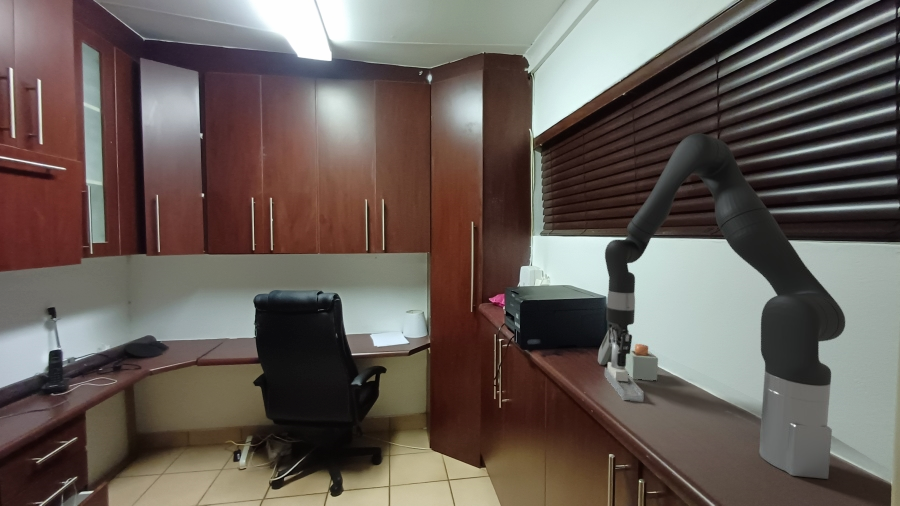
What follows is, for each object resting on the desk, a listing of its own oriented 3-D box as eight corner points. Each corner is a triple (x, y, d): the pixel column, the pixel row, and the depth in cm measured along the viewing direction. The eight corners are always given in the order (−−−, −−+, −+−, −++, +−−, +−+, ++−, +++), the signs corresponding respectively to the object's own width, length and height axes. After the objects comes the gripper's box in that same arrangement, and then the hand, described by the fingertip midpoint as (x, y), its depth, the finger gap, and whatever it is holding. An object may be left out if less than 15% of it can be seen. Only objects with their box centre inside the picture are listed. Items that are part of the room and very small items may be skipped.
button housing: (656, 380, 111) (658, 358, 111) (632, 379, 112) (633, 356, 112) (647, 372, 118) (648, 350, 118) (624, 370, 119) (625, 349, 118)
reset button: (649, 357, 113) (650, 348, 112) (637, 356, 113) (637, 347, 113) (645, 353, 116) (645, 344, 116) (633, 353, 117) (633, 343, 116)
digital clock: (600, 351, 138) (601, 324, 138) (626, 356, 133) (627, 328, 132) (588, 363, 125) (589, 333, 124) (617, 369, 120) (618, 337, 119)
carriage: (628, 381, 105) (630, 348, 105) (615, 380, 106) (616, 347, 105) (619, 371, 113) (620, 340, 113) (607, 370, 114) (608, 339, 113)
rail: (643, 401, 96) (643, 391, 96) (623, 400, 97) (623, 390, 97) (621, 377, 113) (621, 368, 113) (604, 376, 114) (604, 367, 114)
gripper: (643, 312, 101) (640, 372, 102) (625, 302, 115) (622, 355, 116) (615, 310, 102) (612, 370, 103) (600, 301, 116) (598, 354, 117)
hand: (618, 362), depth 109 cm, fingers open, 5 cm apart
